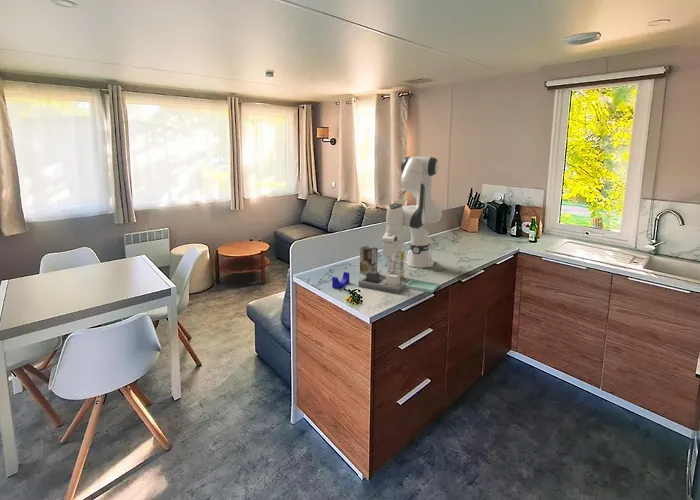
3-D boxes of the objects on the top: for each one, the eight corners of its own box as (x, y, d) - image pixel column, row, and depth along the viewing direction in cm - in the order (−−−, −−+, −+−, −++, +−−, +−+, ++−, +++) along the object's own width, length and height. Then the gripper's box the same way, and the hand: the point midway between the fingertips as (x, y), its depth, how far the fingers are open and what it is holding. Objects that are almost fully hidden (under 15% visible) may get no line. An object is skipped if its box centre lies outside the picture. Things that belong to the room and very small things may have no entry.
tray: (412, 281, 221) (412, 279, 220) (438, 286, 213) (439, 283, 213) (404, 287, 211) (404, 285, 211) (432, 292, 204) (432, 290, 203)
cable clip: (338, 289, 209) (338, 278, 207) (332, 287, 211) (332, 277, 210) (351, 283, 218) (351, 273, 217) (345, 281, 221) (345, 271, 219)
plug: (389, 283, 211) (389, 273, 210) (399, 285, 208) (400, 275, 207) (386, 286, 208) (386, 275, 206) (396, 288, 205) (396, 277, 203)
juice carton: (397, 280, 222) (398, 248, 218) (386, 277, 228) (386, 246, 223) (405, 277, 228) (406, 246, 223) (393, 274, 233) (394, 243, 229)
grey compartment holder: (366, 281, 221) (366, 268, 219) (405, 288, 210) (406, 274, 208) (358, 286, 213) (358, 272, 211) (398, 293, 202) (399, 279, 200)
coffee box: (377, 273, 235) (378, 247, 231) (371, 276, 230) (371, 249, 226) (365, 270, 241) (366, 245, 237) (359, 273, 236) (359, 247, 232)
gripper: (396, 230, 211) (395, 254, 215) (380, 238, 194) (380, 264, 198) (407, 231, 208) (406, 256, 212) (392, 240, 191) (391, 266, 195)
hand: (393, 260), depth 205 cm, fingers open, 8 cm apart
